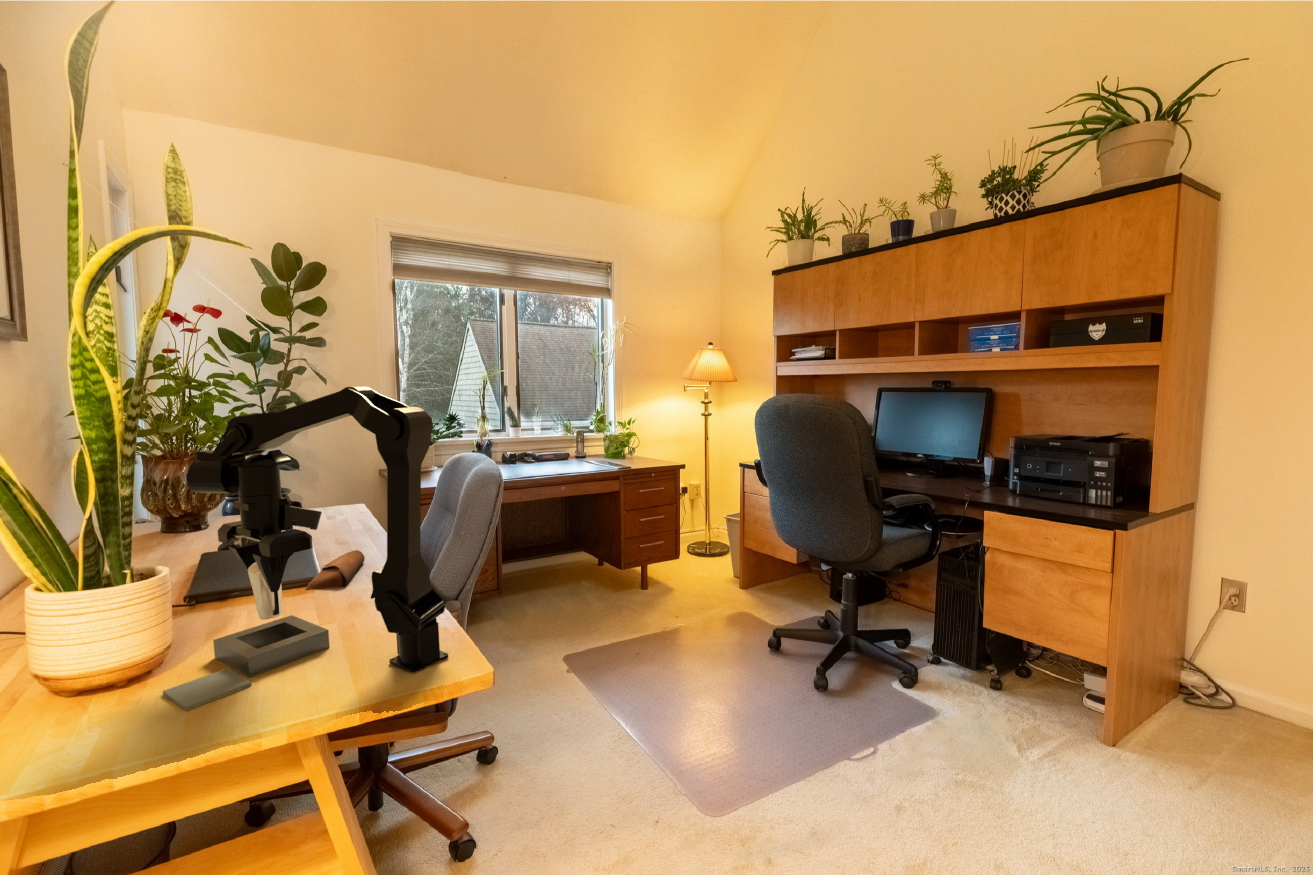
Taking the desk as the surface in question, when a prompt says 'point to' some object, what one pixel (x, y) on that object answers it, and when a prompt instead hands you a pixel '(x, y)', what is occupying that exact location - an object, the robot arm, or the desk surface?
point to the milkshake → (264, 595)
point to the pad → (206, 689)
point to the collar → (270, 645)
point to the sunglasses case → (338, 571)
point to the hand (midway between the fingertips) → (268, 588)
